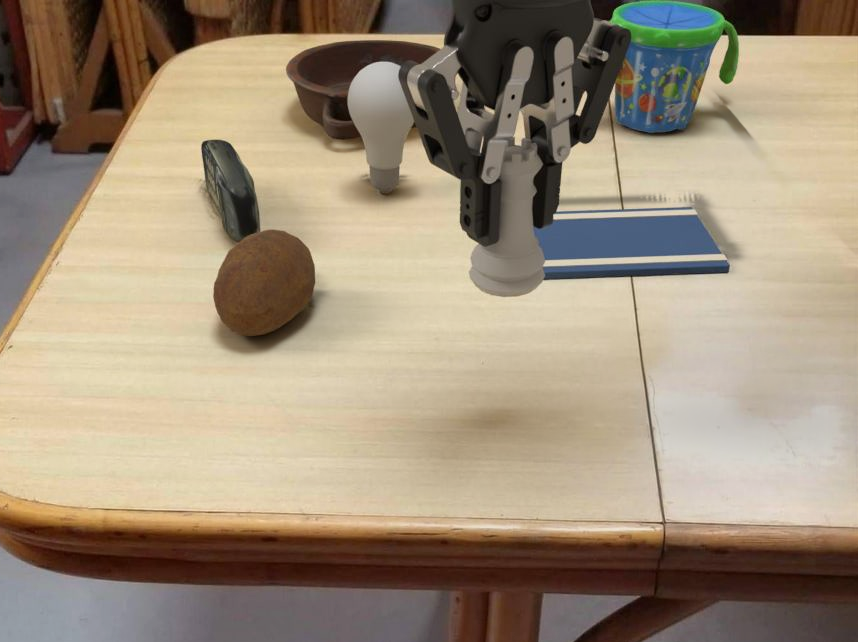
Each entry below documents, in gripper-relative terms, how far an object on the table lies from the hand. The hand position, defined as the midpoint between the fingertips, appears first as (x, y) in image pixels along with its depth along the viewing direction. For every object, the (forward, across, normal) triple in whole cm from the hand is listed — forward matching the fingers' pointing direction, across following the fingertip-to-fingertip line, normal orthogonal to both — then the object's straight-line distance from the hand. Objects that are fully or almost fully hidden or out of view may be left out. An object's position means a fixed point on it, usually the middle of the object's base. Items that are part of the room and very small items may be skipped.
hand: (509, 230), depth 61 cm
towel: (+13, +23, +14) cm, 30 cm away
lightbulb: (+13, +13, +34) cm, 38 cm away
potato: (+13, -6, +20) cm, 24 cm away
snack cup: (+13, +45, +33) cm, 57 cm away
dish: (+13, +23, +51) cm, 58 cm away
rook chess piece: (+3, 0, 0) cm, 3 cm away
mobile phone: (+13, -1, +36) cm, 38 cm away
